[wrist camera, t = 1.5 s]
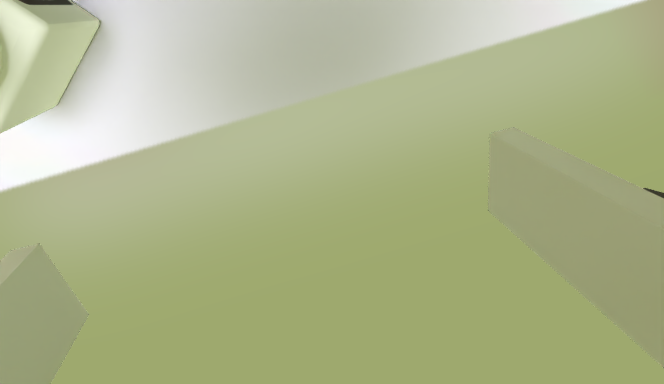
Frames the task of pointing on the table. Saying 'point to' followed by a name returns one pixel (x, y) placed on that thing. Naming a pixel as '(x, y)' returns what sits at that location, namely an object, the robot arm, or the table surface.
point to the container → (39, 54)
